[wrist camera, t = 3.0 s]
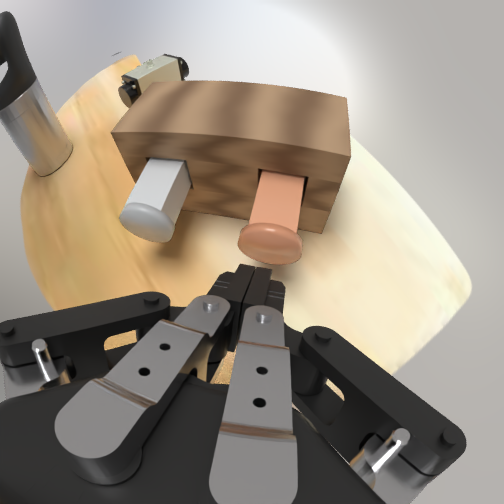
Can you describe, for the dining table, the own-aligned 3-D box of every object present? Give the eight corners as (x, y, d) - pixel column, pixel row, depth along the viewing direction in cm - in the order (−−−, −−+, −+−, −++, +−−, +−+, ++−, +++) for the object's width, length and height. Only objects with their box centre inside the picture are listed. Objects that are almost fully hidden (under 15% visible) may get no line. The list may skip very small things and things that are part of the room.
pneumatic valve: (195, 104, 45) (186, 49, 35) (144, 136, 42) (124, 79, 31) (178, 96, 47) (167, 45, 36) (129, 126, 43) (109, 74, 32)
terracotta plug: (239, 258, 27) (235, 228, 22) (260, 173, 32) (261, 137, 27) (296, 268, 26) (306, 240, 21) (308, 181, 31) (316, 146, 26)
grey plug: (131, 237, 28) (110, 208, 23) (167, 162, 33) (156, 130, 28) (177, 246, 27) (162, 216, 22) (208, 166, 32) (201, 132, 27)
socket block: (146, 204, 35) (110, 132, 23) (172, 152, 39) (152, 82, 28) (321, 233, 33) (351, 156, 21) (325, 173, 37) (346, 97, 25)
